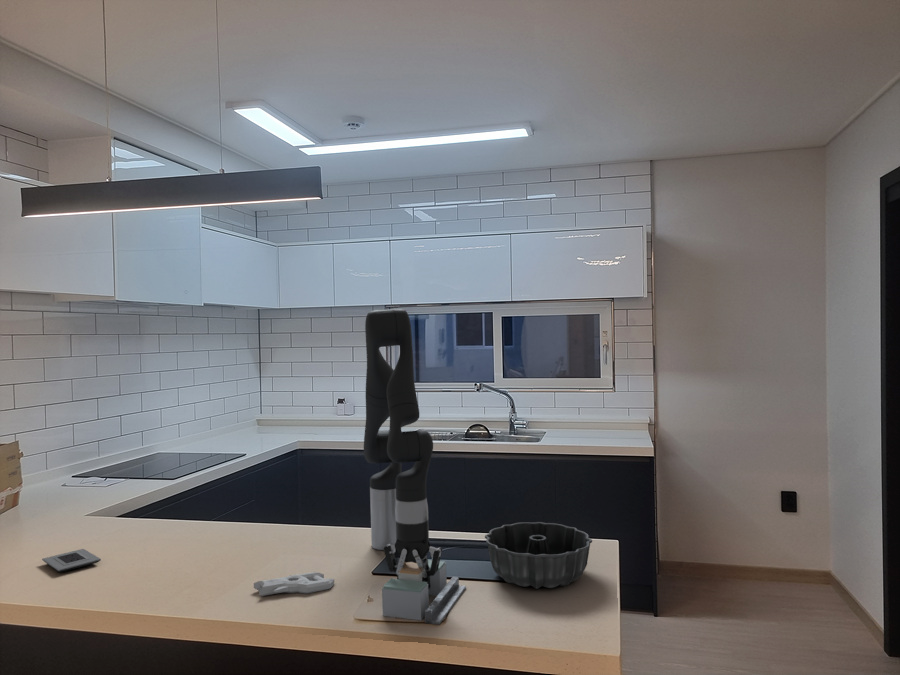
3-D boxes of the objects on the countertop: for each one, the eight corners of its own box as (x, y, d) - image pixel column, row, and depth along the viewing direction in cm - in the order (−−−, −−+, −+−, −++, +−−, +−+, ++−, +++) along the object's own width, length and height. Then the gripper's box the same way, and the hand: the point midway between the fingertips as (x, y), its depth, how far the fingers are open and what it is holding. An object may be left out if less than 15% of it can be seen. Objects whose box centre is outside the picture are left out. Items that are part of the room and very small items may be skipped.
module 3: (411, 584, 165) (411, 558, 165) (446, 587, 162) (446, 561, 162) (404, 592, 160) (403, 565, 160) (440, 596, 157) (439, 568, 157)
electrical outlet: (42, 566, 185) (41, 557, 185) (83, 555, 193) (83, 547, 193) (58, 577, 176) (58, 568, 176) (101, 566, 184) (100, 557, 184)
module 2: (391, 606, 153) (390, 577, 152) (428, 610, 150) (428, 581, 150) (382, 615, 148) (381, 586, 148) (421, 620, 145) (420, 590, 145)
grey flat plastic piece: (263, 590, 155) (252, 577, 164) (263, 605, 155) (252, 591, 164) (338, 577, 164) (324, 565, 173) (338, 591, 164) (324, 579, 173)
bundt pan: (567, 553, 184) (567, 517, 184) (610, 590, 158) (610, 548, 158) (474, 563, 179) (473, 525, 178) (503, 603, 153) (502, 560, 153)
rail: (453, 586, 163) (452, 576, 163) (465, 588, 162) (465, 577, 162) (425, 623, 144) (424, 611, 144) (439, 624, 143) (439, 613, 143)
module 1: (408, 588, 159) (407, 561, 159) (428, 590, 157) (427, 563, 157) (399, 599, 153) (398, 570, 153) (419, 601, 151) (418, 572, 151)
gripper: (446, 515, 156) (448, 587, 156) (389, 511, 160) (391, 581, 161) (436, 524, 149) (438, 600, 149) (376, 520, 153) (378, 594, 154)
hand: (413, 590), depth 155 cm, fingers closed on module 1, 5 cm apart
